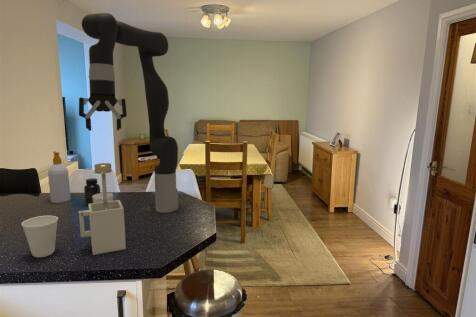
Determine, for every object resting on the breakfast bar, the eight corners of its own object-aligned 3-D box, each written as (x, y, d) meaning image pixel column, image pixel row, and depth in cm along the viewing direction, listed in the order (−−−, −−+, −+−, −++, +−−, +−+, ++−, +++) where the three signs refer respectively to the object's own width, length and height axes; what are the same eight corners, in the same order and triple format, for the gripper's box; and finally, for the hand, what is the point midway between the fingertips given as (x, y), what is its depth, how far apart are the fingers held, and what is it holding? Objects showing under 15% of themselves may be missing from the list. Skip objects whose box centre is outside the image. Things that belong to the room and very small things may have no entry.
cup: (35, 247, 108) (32, 215, 106) (66, 246, 109) (63, 214, 107) (18, 261, 98) (14, 227, 97) (52, 260, 99) (49, 226, 97)
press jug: (121, 237, 116) (119, 199, 114) (125, 248, 107) (123, 208, 105) (81, 244, 110) (78, 204, 108) (82, 257, 102) (78, 214, 99)
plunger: (117, 214, 113) (114, 161, 110) (120, 221, 106) (116, 165, 103) (93, 217, 110) (89, 163, 106) (94, 225, 103) (90, 167, 100)
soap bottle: (67, 196, 165) (63, 150, 161) (73, 200, 158) (68, 152, 154) (48, 199, 159) (43, 151, 155) (53, 204, 152) (48, 154, 148)
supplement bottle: (104, 203, 155) (102, 178, 152) (91, 207, 149) (89, 181, 147) (95, 201, 158) (93, 177, 156) (82, 204, 152) (80, 179, 150)
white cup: (107, 222, 130) (105, 198, 128) (89, 221, 132) (87, 197, 130) (118, 216, 138) (116, 193, 136) (101, 214, 139) (100, 192, 137)
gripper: (125, 81, 110) (126, 129, 112) (79, 79, 105) (81, 129, 107) (125, 79, 103) (127, 131, 105) (75, 77, 98) (78, 131, 100)
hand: (104, 130), depth 106 cm, fingers open, 8 cm apart
